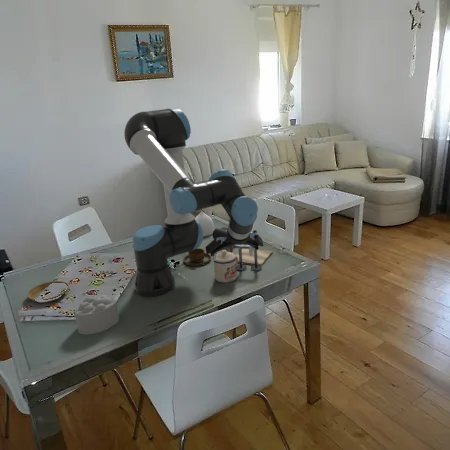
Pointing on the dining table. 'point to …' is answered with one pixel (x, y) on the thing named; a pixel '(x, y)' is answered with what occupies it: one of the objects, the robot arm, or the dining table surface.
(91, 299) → the lumpy-topped squat cylinder
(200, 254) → the place setting
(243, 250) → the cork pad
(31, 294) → the plant saucer
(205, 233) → the teardrop
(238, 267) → the bent rail
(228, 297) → the dining table surface
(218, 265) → the teacup with lid
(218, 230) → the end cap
